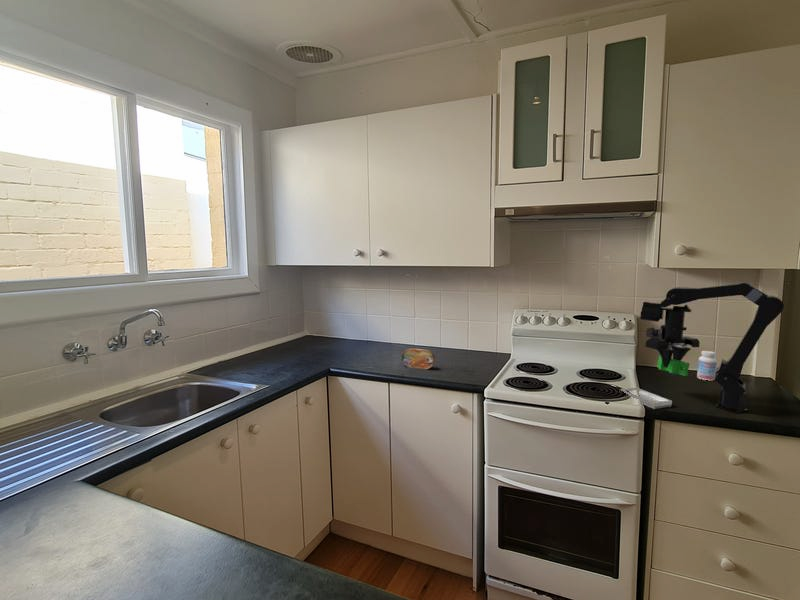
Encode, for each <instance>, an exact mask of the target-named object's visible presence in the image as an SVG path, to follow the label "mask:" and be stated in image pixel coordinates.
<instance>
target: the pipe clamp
mask: <svg viewBox="0 0 800 600" xmlns="http://www.w3.org/2000/svg"><path fill="white" fill-rule="evenodd" d="M656 368H658V370H660V371H666V372H669V373H670V374H677V375H681V376H683V377H684V376H685V377H687V376H688V375H689V374H688V373H689V368H690V363H689V362H685V361H682V360H681V361H679V360H676V359H673V357H671V360H670V363H669V365H668V367H667V368H666V367H664V365H663V361H662V358H661V355H660V354H659V355H658V361H657V367H656Z"/></svg>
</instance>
